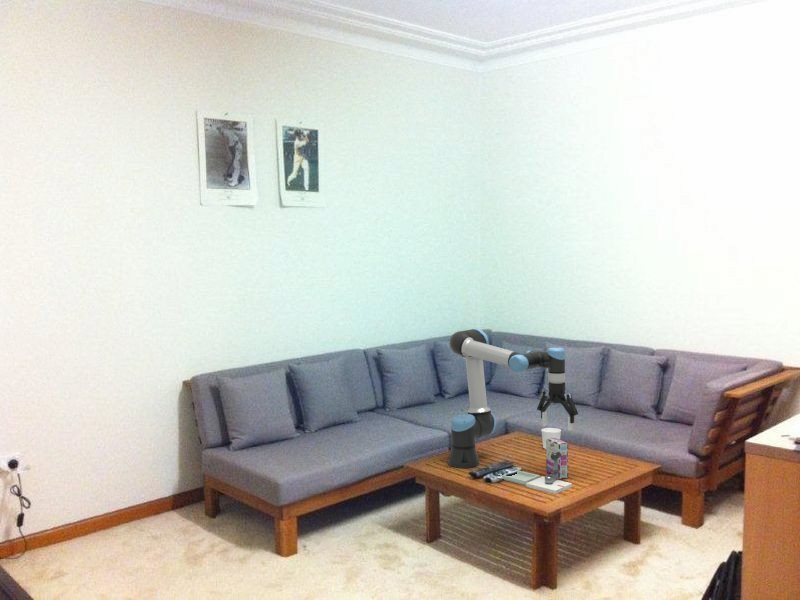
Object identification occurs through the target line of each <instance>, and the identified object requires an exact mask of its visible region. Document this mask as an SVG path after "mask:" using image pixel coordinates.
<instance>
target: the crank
mask: <svg viewBox="0 0 800 600" xmlns="http://www.w3.org/2000/svg"><path fill="white" fill-rule="evenodd" d="M560 457H561V453H560V452H556V453H554V454H552V455H551V459H552V460H554V473H552V474H548V475H545V476H544V477H545V483H547V484H552V483H553V481H554V480H559V479H558V458H560Z"/></svg>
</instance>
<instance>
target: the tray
mask: <svg viewBox="0 0 800 600" xmlns="http://www.w3.org/2000/svg"><path fill="white" fill-rule="evenodd" d="M515 471H517V474H515V475H512V476H506V475H502V474H498V475H500V476H502V477H503V479H504V480H503V481H505V482H510V483H513V484H514V483H515V484H517V485H521V486H525V487H526V483H528V482H530V481H533V480H535V479H538V478H540V477H541V476H540V475H539V474H537V473H536V474H534V473H531V472H526V471H523V470H519V469H515Z"/></svg>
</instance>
